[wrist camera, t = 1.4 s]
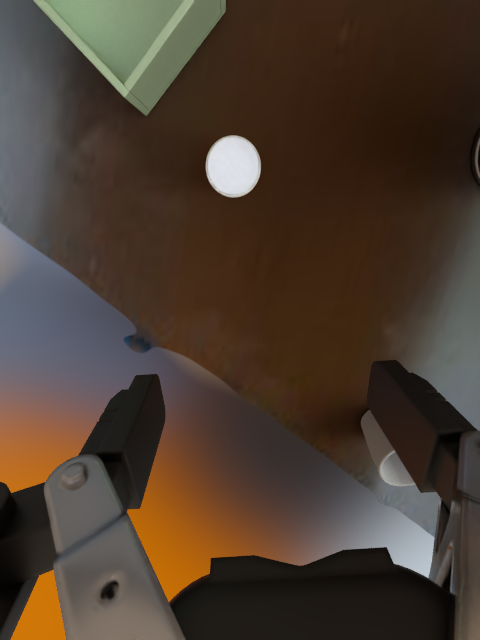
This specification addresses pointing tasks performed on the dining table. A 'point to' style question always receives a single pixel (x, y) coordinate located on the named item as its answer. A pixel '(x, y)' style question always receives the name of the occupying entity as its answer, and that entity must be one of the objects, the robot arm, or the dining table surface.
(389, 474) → the cup
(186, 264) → the dining table surface
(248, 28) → the dining table surface
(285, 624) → the robot arm
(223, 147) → the grey cylindrical piece
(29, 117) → the dining table surface
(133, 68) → the green open box
